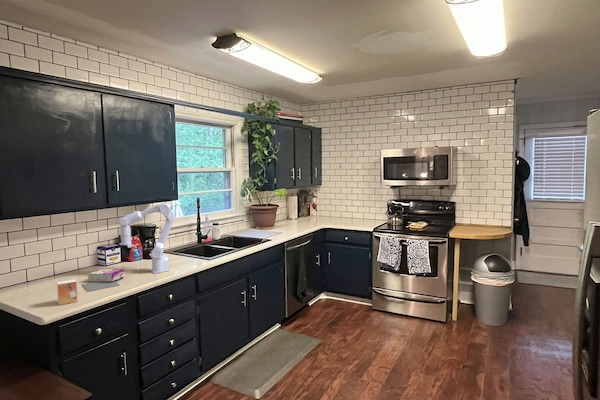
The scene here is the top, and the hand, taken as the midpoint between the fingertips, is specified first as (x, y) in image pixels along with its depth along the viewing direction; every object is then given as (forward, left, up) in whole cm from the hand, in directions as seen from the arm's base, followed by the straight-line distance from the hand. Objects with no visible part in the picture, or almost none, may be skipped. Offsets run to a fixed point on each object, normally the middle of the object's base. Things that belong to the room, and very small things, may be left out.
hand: (127, 257), depth 233 cm
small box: (+37, +33, -11) cm, 51 cm away
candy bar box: (+8, +12, -7) cm, 17 cm away
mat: (+19, +14, -10) cm, 25 cm away
